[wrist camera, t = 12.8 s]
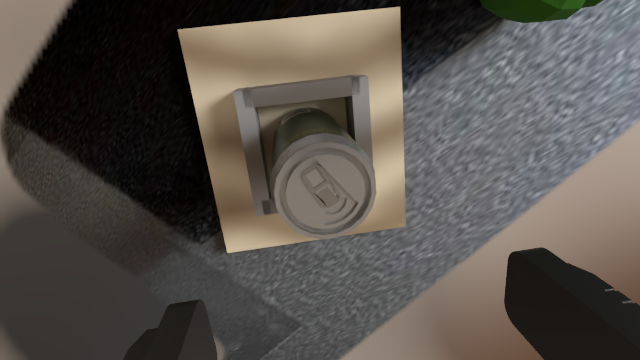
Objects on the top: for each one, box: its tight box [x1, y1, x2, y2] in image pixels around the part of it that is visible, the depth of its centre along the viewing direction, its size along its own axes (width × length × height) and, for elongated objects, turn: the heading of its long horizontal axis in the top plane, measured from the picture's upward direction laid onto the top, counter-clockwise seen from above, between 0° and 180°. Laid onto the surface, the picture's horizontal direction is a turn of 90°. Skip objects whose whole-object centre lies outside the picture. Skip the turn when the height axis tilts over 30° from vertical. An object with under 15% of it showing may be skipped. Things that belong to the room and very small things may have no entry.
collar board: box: [178, 7, 406, 253], centre depth 27 cm, size 18×16×4 cm
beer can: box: [269, 107, 376, 239], centre depth 22 cm, size 5×5×12 cm
